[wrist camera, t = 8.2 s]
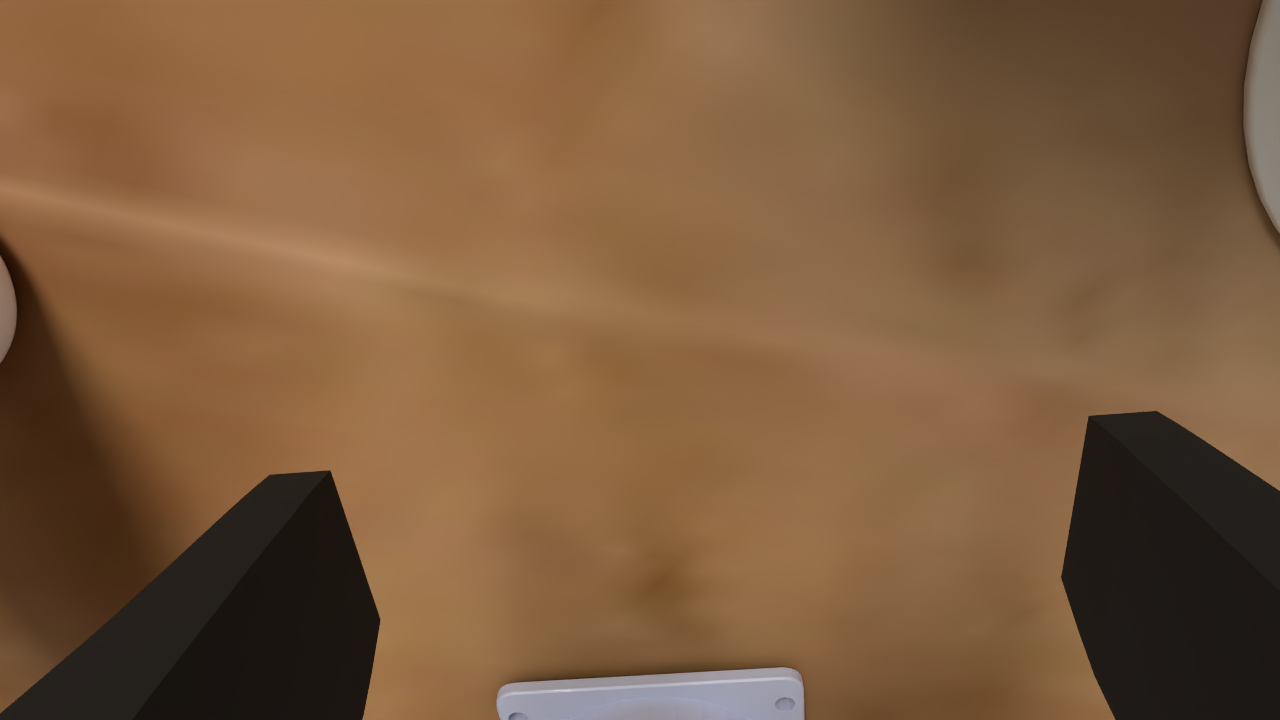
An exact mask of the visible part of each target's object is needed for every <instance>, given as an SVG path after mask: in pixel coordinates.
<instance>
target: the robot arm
mask: <svg viewBox="0 0 1280 720" xmlns="http://www.w3.org/2000/svg"><path fill="white" fill-rule="evenodd" d="M1061 578H1062V582H1063V585H1064V588H1065V591H1066V594H1067V597H1068V600H1069V603H1070V606H1071V609H1072V612H1073V615H1074V618H1075V621H1076V624H1077V628H1078V631H1079V633H1080V636H1081V639H1082V642H1083V645H1084V647H1085V650H1086V653H1087V656H1088V659H1089V661H1090V664H1091V667H1092V670H1093V673H1094V675H1095V678H1096V680H1097V682H1098V684H1099V686H1100V688H1101V690H1102V692H1103V695H1104V697H1105V699H1106V701H1107V703H1108V705H1109V707H1110V709H1111V711H1112V713H1113V715H1114V717H1115V719H1116V720H1280V491H1279V490H1277V489H1276V488H1274V487H1273V486H1271V485H1270V484H1268V483H1267V482H1265V481H1264V480H1262V479H1261V478H1259V477H1258V476H1256V475H1255V474H1253V473H1252V472H1250V471H1249V470H1247V469H1246V468H1244V467H1243V466H1241V465H1240V464H1238V463H1237V462H1235V461H1234V460H1233V459H1231V458H1229V457H1228V456H1226V455H1225V454H1223V453H1222V452H1220V451H1219V450H1217V449H1216V448H1214V447H1213V446H1211V445H1210V444H1208V443H1207V442H1205V441H1204V440H1202V439H1201V438H1199V437H1198V436H1196V435H1195V434H1193V433H1192V432H1190V431H1188V430H1187V429H1185V428H1184V427H1182V426H1181V425H1179V424H1177V423H1176V422H1174V421H1172V420H1171V419H1169V418H1167V417H1166V416H1164V415H1162V414H1161V413H1159V412H1157V411H1151V412H1137V413H1123V414H1109V415H1095V416H1089V417H1088V423H1087V429H1086V435H1085V441H1084V447H1083V453H1082V459H1081V465H1080V470H1079V476H1078V482H1077V488H1076V494H1075V500H1074V506H1073V512H1072V517H1071V523H1070V529H1069V535H1068V541H1067V547H1066V553H1065V559H1064V565H1063V570H1062V576H1061ZM379 625H380V617H379V614H378V611H377V608H376V605H375V602H374V599H373V596H372V593H371V590H370V587H369V584H368V581H367V578H366V575H365V572H364V569H363V566H362V563H361V560H360V557H359V554H358V551H357V549H356V546H355V543H354V540H353V537H352V534H351V531H350V528H349V525H348V522H347V519H346V516H345V513H344V510H343V507H342V504H341V501H340V498H339V495H338V492H337V489H336V486H335V483H334V480H333V477H332V474H331V471H316V472H302V473H288V474H274V475H269V476H268V477H267V478H265V479H264V480H263V481H262V482H261V483H259V484H258V485H257V486H256V487H255V488H253V489H252V490H251V491H250V492H249V493H248V494H247V495H245V496H244V497H243V498H242V499H241V500H240V501H239V502H238V503H236V504H235V505H234V506H233V507H232V508H231V509H230V510H229V511H228V512H227V513H225V514H224V515H223V516H222V517H221V518H220V519H219V520H218V521H217V522H216V523H215V524H214V525H212V526H211V527H210V528H209V529H208V530H207V531H206V532H205V533H204V534H203V535H202V536H201V537H200V538H198V539H197V540H196V541H195V542H194V543H193V544H192V545H191V546H190V547H189V548H188V549H187V550H186V551H185V552H183V553H182V554H181V555H180V556H179V557H178V558H177V559H176V560H175V561H174V562H173V563H172V564H171V565H169V566H168V567H167V568H166V569H165V570H164V571H163V572H162V573H161V574H160V575H158V576H157V577H156V578H155V579H154V580H153V581H152V582H151V583H150V584H149V585H148V586H146V587H145V588H144V589H143V590H142V591H141V592H140V593H139V594H138V595H137V596H136V597H134V598H133V599H132V600H131V601H130V602H129V603H128V604H127V605H126V606H125V607H123V608H122V609H121V610H120V611H119V612H118V613H117V614H116V615H115V616H114V617H113V618H111V619H110V620H109V621H108V622H107V623H106V624H105V625H104V626H103V627H101V628H100V629H99V630H98V631H97V632H96V633H95V634H94V635H92V636H91V637H90V638H89V639H88V640H86V641H85V642H84V643H83V644H82V645H81V646H79V647H78V648H77V649H76V650H75V651H73V652H72V653H71V654H70V655H69V656H68V657H66V658H65V659H64V660H63V661H62V662H61V663H59V664H58V665H57V666H56V667H55V668H53V669H52V670H51V671H50V672H49V673H48V674H46V675H45V676H44V677H43V678H42V679H40V680H39V681H38V682H37V683H36V684H35V685H33V686H32V687H31V688H30V689H29V690H28V691H26V692H25V693H24V694H23V695H22V696H20V697H19V698H18V699H17V700H16V701H15V702H13V703H12V704H11V705H10V706H9V707H7V708H6V709H5V710H4V711H3V712H2V713H0V720H362V719H363V715H364V709H365V704H366V699H367V694H368V689H369V684H370V679H371V674H372V668H373V662H374V656H375V650H376V644H377V637H378V631H379ZM782 698H784V699H782ZM496 706H497V710H498V714H499V717H500V720H804V686H803V680H802V677H801V674H800V673H799V672H798V671H797V670H794V669H791V668H786V667H777V668H760V669H742V670H725V671H708V672H690V673H673V674H655V675H638V676H620V677H603V678H585V679H568V680H551V681H533V682H516V683H510V684H506V685H504V686H503V687H501V688H500V690H499V691H498V696H497V705H496ZM516 712H518V713H516Z"/></svg>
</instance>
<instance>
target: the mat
mask: <svg viewBox="0 0 1280 720" xmlns="http://www.w3.org/2000/svg"><path fill="white" fill-rule="evenodd" d="M1243 129H1244V136H1245V143H1246V150H1247V157H1248V164H1249V167H1250V171H1251V174H1252V177H1253V180H1254V183H1255V186H1256V190H1257V193H1258V196H1259V198H1260V200H1261V202H1262V204H1263V206H1264V208H1265V210H1266V212H1267V214H1268V215H1269V217H1270V219H1271V221H1272V223H1273V225H1274V227H1275V228H1276V229H1277V231H1278V232H1279V233H1280V0H1263V1H1262V4H1261V8H1260V11H1259V15H1258V18H1257V22H1256V25H1255V29H1254V32H1253V36H1252V39H1251V43H1250V50H1249V56H1248V63H1247V69H1246V75H1245V82H1244V110H1243Z"/></svg>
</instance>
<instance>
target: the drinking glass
mask: <svg viewBox="0 0 1280 720" xmlns="http://www.w3.org/2000/svg"><path fill="white" fill-rule="evenodd" d="M16 323H17V302H16V296H15V290H14V286H13V283H12V280H11V277H10V274H9V272H8V269H7V267H6V265H5V263H4V261H3V259H2V257H1V255H0V363H1V362H2V361H3V359H4V358H5V356H6V354H7V352H8V350H9V348H10V346H11V343H12V340H13V337H14V334H15V329H16Z"/></svg>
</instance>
